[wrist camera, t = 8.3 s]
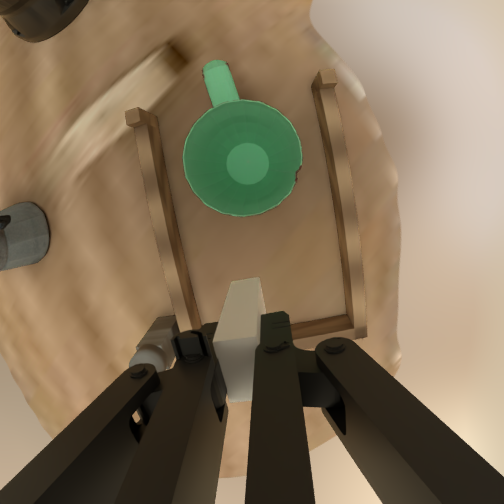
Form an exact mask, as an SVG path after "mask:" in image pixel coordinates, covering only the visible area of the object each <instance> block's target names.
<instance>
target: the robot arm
mask: <svg viewBox="0 0 504 504" xmlns="http://www.w3.org/2000/svg"><path fill="white" fill-rule="evenodd" d="M87 1H88V0H0V16H2V18H3V19H4V21H5V22H6V23H7V25H8V26H9V27H10V29H11V30H12V32H13V33H14V34H15V35H16V36H17V37H19V38H21V39H23V40H25V41H28V42H39V41H42V40H45V39H47V38H50V37H51V36H53V35H55V34H56V33H58V32H59V31H61V30H62V29H63V28H65V27H66V26H67V25H68V24H69V23H70V22H71V21H72V20H73V19H74V18H75V17H76V16H77V15H78V14H79V13H80V11H81V10H82V9H83V7H84V6H85V5H86V3H87ZM170 341H171V344H172V347H173V350H174V353H175V356H176V359H177V360H176V362H175V364H174V367H173V368H172V369H169V370H165V371H161V372H158V373H157V370H156V367H155V366H154V365H153V364H149V363H139V364H135V365H134V366H132V367H130V368H128V369H127V370H125V371H124V372H123V373H122V374H121V375H120V376H119V377H118V378H117V379H116V380H115V381H114V382H113V383H112V384H111V385H110V386H109V387H108V388H106V389H105V390H104V391H103V392H102V393H101V394H100V395H99V396H98V397H97V398H96V399H95V400H94V401H93V402H92V403H91V404H90V405H89V406H88V407H87V408H86V409H85V410H84V411H82V412H81V413H80V414H79V415H78V416H77V417H76V418H75V419H74V420H73V421H72V422H71V423H70V424H69V425H68V426H67V427H66V428H65V429H64V430H63V431H62V432H61V433H60V434H59V435H57V436H56V437H55V438H54V439H53V440H52V441H51V442H50V443H49V444H48V445H47V446H46V447H45V448H44V449H43V450H42V451H41V452H40V453H39V454H38V455H37V456H36V457H35V458H34V459H33V460H32V461H30V463H28V464H27V465H26V466H25V467H24V468H23V469H22V470H21V471H20V472H19V473H18V474H17V475H16V476H15V477H14V478H13V479H12V480H11V481H10V482H9V483H8V484H7V485H6V486H4V487H3V488H2V490H0V504H215V498H216V491H217V484H218V478H219V471H220V464H221V458H222V451H223V444H224V437H225V431H226V424H227V417H228V407H227V403H226V394H227V395H228V398H229V402H230V403H233V402H243V401H252V407H251V421H250V436H249V451H248V465H247V479H246V493H245V504H315V496H314V488H313V480H312V472H311V464H310V456H309V449H308V441H307V434H306V426H305V419H304V412H303V407H321V409H322V413H323V414H324V416H325V417H326V419H327V420H328V422H329V424H330V425H331V427H332V428H333V430H334V431H335V433H336V434H337V436H338V437H339V439H340V440H341V442H342V443H343V445H344V446H345V448H346V449H347V451H348V452H349V454H350V455H351V457H352V459H353V460H354V462H355V463H356V465H357V466H358V468H359V469H360V471H361V472H362V473H363V475H364V476H365V478H366V479H367V481H368V482H369V484H370V485H371V487H372V488H373V490H374V491H375V493H376V494H377V496H378V497H379V498H380V500H381V502H382V503H383V504H504V477H503V476H502V475H501V474H500V473H499V472H498V471H497V470H496V469H494V468H493V467H492V466H491V465H490V464H489V463H488V462H487V461H486V460H485V459H483V458H482V457H481V456H480V455H479V454H478V453H477V452H476V451H474V450H473V449H472V448H471V447H470V446H469V445H468V444H467V443H466V442H465V441H464V440H462V439H461V438H460V437H459V436H458V435H457V434H456V433H455V432H453V431H452V430H451V429H450V428H449V427H448V426H447V425H446V424H445V423H443V422H442V421H441V420H440V419H439V418H438V417H437V416H436V415H435V414H434V413H432V412H431V411H430V410H429V409H428V408H427V407H426V406H425V405H423V404H422V403H421V402H420V401H419V400H418V399H417V398H416V397H415V396H414V395H412V394H411V393H410V392H409V391H408V390H407V389H406V388H405V387H404V386H403V385H401V384H400V383H399V382H398V381H397V380H396V379H395V378H394V377H393V376H391V375H390V374H389V373H388V372H387V371H386V370H385V369H384V368H383V367H381V366H380V365H379V364H378V363H377V362H376V361H375V360H374V359H373V358H371V357H370V356H369V355H368V354H367V353H366V352H365V351H364V350H363V349H361V348H360V347H359V346H358V345H357V344H356V343H355V342H354V341H352V340H350V339H349V338H344V337H332V338H329V339H326V340H324V341H321V342H320V343H319V344H318V345H317V346H316V348H315V351H308V350H302V349H299V348H297V347H296V346H295V345H294V343H293V339H292V332H291V326H290V320H289V315H288V314H287V313H285V312H284V311H280V312H274V313H268V314H266V309H265V304H264V299H263V293H262V288H261V283H260V278H259V277H255V278H249V279H243V280H237V281H231V284H230V287H229V290H228V293H227V296H226V300H225V303H224V306H223V309H222V313H221V316H220V319H219V322H213V323H206V324H204V325H203V326H202V327H201V328H200V329H192V330H187V331H183V332H181V333H178V334H177V335H175V336H173V337H172V338H171V340H170ZM135 411H137V413H138V415H139V417H140V420H139V422H137V423H136V422H135V421H134V419H133V417H132V415H133V414H134V412H135Z"/></svg>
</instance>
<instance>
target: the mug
mask: <svg viewBox="0 0 504 504" xmlns="http://www.w3.org/2000/svg"><path fill="white" fill-rule="evenodd" d="M202 75H203V78H204V81H205V84H206V87H207V90H208V93H209V96H210V99H211V102H212V105H213V108H211V109H209V110H207V111H206V112H205V113H204V114H203V115H202V116H201V117H200V118H199V119H198V120H197V121H196V122H195V123H194V124H193V126H192V128H191V130H190V132H189V134H188V136H187V138H186V140H185V145H184V150H183V156H182V160H183V167H184V173H185V177H186V179H187V181H188V183H189V185H190V187H191V189H192V191H193V193H194V194H195V195H196V196H197V197H198V198H199V199H200V200H201V201H202V202H203V203H204V204H205V205H206V206H208V207H210V208H212V209H214V210H216V211H218V212H220V213H222V214H225V215H231V216H237V217H246V216H253V215H260V214H262V213H264V212H266V211H268V210H271V209H273V208H275V207H277V206H278V205H279V204H280V203H281V202H282V201H283V200H284V199H285V198H286V197H287V196H289V195H290V194H291V192H292V190H293V188H294V186H295V184H296V182H297V172H298V171H299V170H300V169H301V166H302V161H303V154H302V148H301V141H300V138H299V136H298V134H297V132H296V130H295V129H294V127H293V125H292V123H291V122H290V121H289V120H288V119H287V118H286V117H285V116H284V115H283V114H282V113H281V112H280V111H279V110H277V109H275V108H273V107H271V106H269V105H267V104H265V103H263V102H260V101H253V100H246V99H239V96H238V93H237V90H236V87H235V84H234V81H233V78H232V75H231V72H230V69H229V65H228V63H227V62H225V61H221V60H213V61H211V62H209V63H207V64H206V65H205V66H204V68H203V69H202Z"/></svg>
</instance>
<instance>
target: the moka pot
mask: <svg viewBox="0 0 504 504" xmlns="http://www.w3.org/2000/svg"><path fill="white" fill-rule="evenodd" d="M48 244H49V231H48V226H47V222H46V219H45V215H44V213H43V212H42V211H41V210H40V209H39V208H38V207H37V206H36V205H34V204H33V203H31V202H24V203H18V204H15V205H13V206H11V207H8V208H6V209H4V210H2V211H0V271H3V270H8V269H12V268H16V267H21V266H26V265H30V264H34V263H37V262H39V261H40V260H41V259H42V258H43V256H45V254H46V251H47V248H48Z"/></svg>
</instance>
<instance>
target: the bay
mask: <svg viewBox="0 0 504 504" xmlns="http://www.w3.org/2000/svg"><path fill="white" fill-rule="evenodd" d="M337 83H338V81H337V77H336V73H335V69H325V70H319V72H318V74H317V76H316V78H315V80H314V82H313V84H312V86H311V88H312V92H313V96H314V101H315V105H316V110H317V115H318V120H319V124H320V129H321V134H322V139H323V145H324V150H325V155H326V161H327V166H328V172H329V178H330V184H331V190H332V196H333V203H334V210H335V216H336V223H337V231H338V238H339V246H340V254H341V263H342V272H343V281H344V291H345V302H346V313H347V314H346V315H341V316H336V317H330V318H325V319H320V320H314V321H309V322H303V323H297V324H292V325H290V326H291V332H292V339H293V343H294V345H295V346H296V347H297V348H299V349H302V350H304V349H310V348H315V347H316V346H317V345H318V344H319V343H320V342H321V341H324V340H326V339H329V338H332V337H344V338H349V339H350V340H356V339H360V338H365V337H367V317H366V300H365V287H364V274H363V263H362V253H361V244H360V235H359V227H358V219H357V211H356V204H355V197H354V190H353V184H352V177H351V171H350V165H349V159H348V154H347V148H346V143H345V138H344V133H343V128H342V123H341V118H340V113H339V109H338V104H337V100H336V95H335V91H334V87H335V86H336V84H337ZM125 117H126V124H127V125H128V126H131V127H133V128H134V130H135V137H136V143H137V149H138V155H139V160H140V166H141V171H142V177H143V182H144V187H145V192H146V197H147V202H148V207H149V211H150V216H151V221H152V225H153V230H154V234H155V238H156V243H157V247H158V251H159V255H160V259H161V263H162V267H163V271H164V275H165V279H166V283H167V287H168V291H169V294H170V298H171V302H172V305H173V309H174V312H175V315H174V316H166V317H158V318H157V319H156V320H155V322H154V323H153V324H152V326H151V327H150V329H149V330H148V331H147V333H146V334H145V335H144V337H143V338H142V340H141V341H140V342H139V344H138V345H137V347H136V349H137V352H136V353H135V355H134V356H133V358H132V359H131V360H130V363H129V368H130V367H132V366H134V365H135V364H139V363H149V364H153V365H154V366H155V367H156V370H157V373H158V372H161V371H165V370H166V369H170V366H171V364H172V362H173V360H174V358H175V353H174V350H173V347H172V344H171V341H170V340H171V338H172V337H173V336H175V335H177V334H178V333H181V332H183V331H187V330H192V329H200V328H201V327H202V325H201V321H200V318H199V314H198V310H197V306H196V302H195V298H194V294H193V290H192V286H191V282H190V278H189V274H188V270H187V266H186V262H185V257H184V253H183V249H182V244H181V240H180V235H179V231H178V226H177V222H176V217H175V212H174V207H173V202H172V198H171V193H170V188H169V183H168V177H167V172H166V167H165V161H164V156H163V150H162V145H161V139H160V133H159V127H158V121H157V117H156V116H154V115H152V114H150V113H148V112H146V111H144V110H143V109H141V108H139V107H137V108H134V109H131V110H128V111H125Z"/></svg>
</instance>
